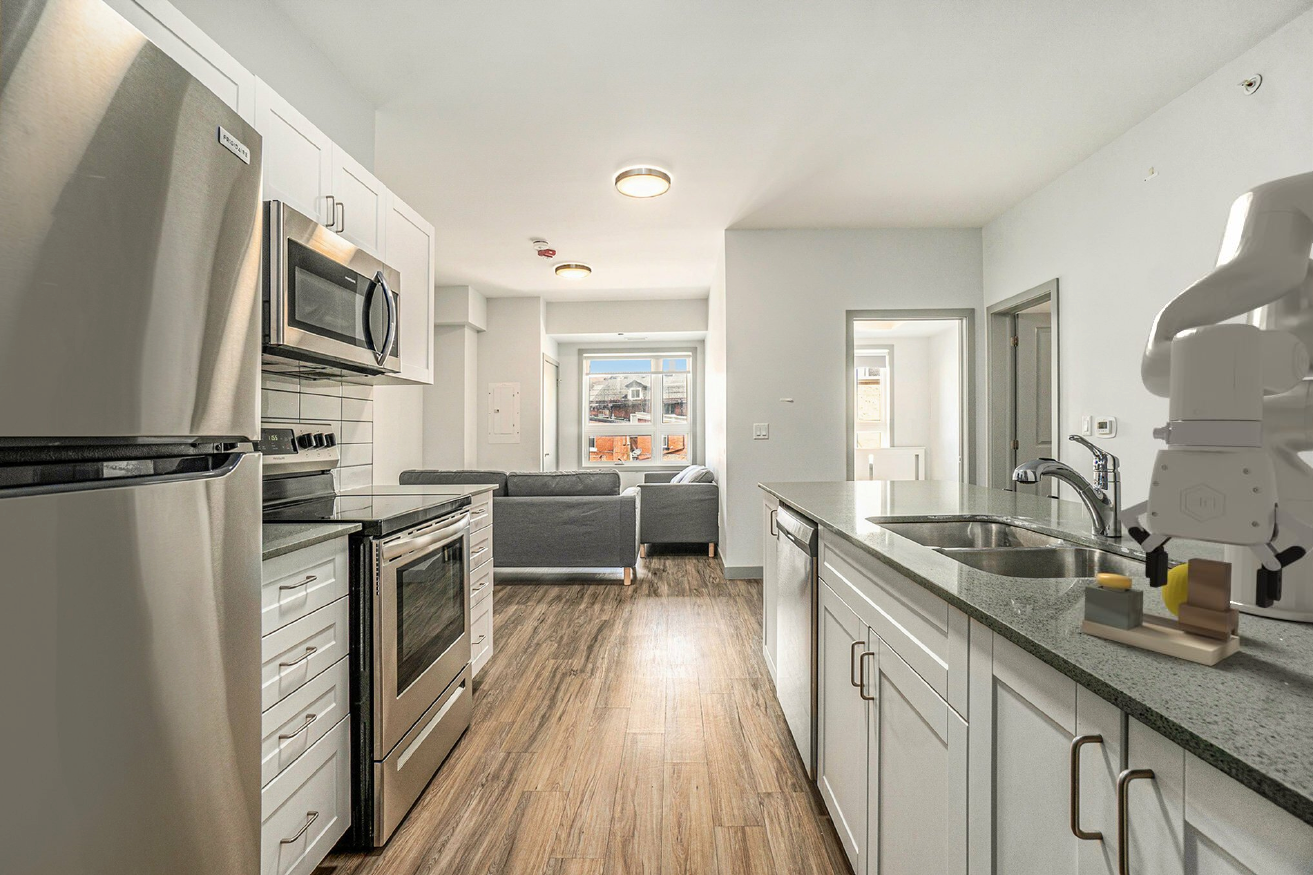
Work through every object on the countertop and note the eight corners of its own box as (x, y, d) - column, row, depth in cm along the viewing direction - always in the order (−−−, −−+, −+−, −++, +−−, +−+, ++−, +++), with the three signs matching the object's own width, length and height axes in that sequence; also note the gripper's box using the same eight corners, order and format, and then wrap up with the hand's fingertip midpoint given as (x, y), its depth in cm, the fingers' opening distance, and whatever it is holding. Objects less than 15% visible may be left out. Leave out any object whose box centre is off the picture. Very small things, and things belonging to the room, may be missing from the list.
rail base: (1114, 621, 74) (1115, 577, 74) (1239, 650, 65) (1240, 600, 65) (1081, 632, 70) (1083, 586, 70) (1211, 665, 60) (1212, 612, 60)
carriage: (1190, 623, 68) (1192, 556, 68) (1238, 634, 64) (1240, 563, 64) (1177, 629, 66) (1179, 559, 66) (1226, 640, 62) (1228, 566, 62)
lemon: (1232, 635, 70) (1235, 568, 70) (1179, 630, 71) (1181, 565, 71) (1200, 621, 75) (1202, 558, 75) (1150, 617, 76) (1152, 555, 76)
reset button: (1103, 613, 71) (1104, 572, 71) (1135, 621, 68) (1136, 578, 68) (1091, 617, 69) (1092, 575, 69) (1123, 625, 67) (1125, 581, 66)
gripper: (1105, 436, 70) (1101, 581, 70) (1322, 439, 55) (1316, 623, 56) (1131, 437, 74) (1127, 575, 74) (1340, 440, 59) (1335, 612, 60)
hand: (1208, 594), depth 65 cm, fingers open, 8 cm apart
